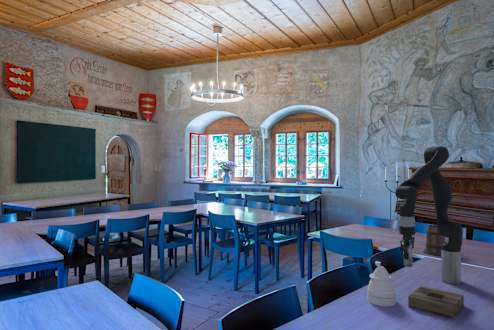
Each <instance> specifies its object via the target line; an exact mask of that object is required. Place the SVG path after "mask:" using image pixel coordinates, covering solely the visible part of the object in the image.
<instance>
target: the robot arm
mask: <svg viewBox="0 0 494 330" xmlns="http://www.w3.org/2000/svg"><path fill="white" fill-rule="evenodd" d="M449 158H450V152H449V150H448V148H447V147H445V146H431V147H426V148H425V149H424V152H423V159H424V164H423V165H422V166H420V167H419V168H417V169H415V171H414V172H412V174H411V175H410V176H409V177H408V178H407V179H406V180H404V181H403V182H402V183H400V184H398V186H396V189H395V192H394V193H395V197H396V198H397V199H399V200H405V203H403V204H400V205H399V209H398V212H399V213H398V215H399V217H398V232H399V234H400V235H402V238H401V240H400V241H399V243H400V250H401V252H403V260H404V259H406V260H408V259H409V248H410V244H412V251H413V249H414V248H415V247H414V246H415V239H416V238H415V235H416V219H415V207H416V203H417V199H418V196H419V195H418V194H419V193H418V190H419V189H420V188H421V187H422V186H423V184H424V183H425V182H426V181H427V180H428V178H429V181H430V182H429V183H430V187H431V192H432V193H431V194H432V198H433V201H434V202H433V204H434V210H435V218H436V225H437V229H438V232H439V234H440V235H441V236H444V237H445V238H448V239H447V241H448V242H447V243H444V244H442V245H441V255H442V256H441V281H442V282H445V283H448V284H453V285H459V284H462V254H461V253H462V252H461V251H462V246H463V234H464V233H463V227H462V224H461V223H460V222H458V221H452V220H450V219H449V215H448V210H449V207H450V205H451V204H452V203H451V202H452V201H453V194H452V189H451V188H452V187H451V185H450V183H449V182H448V180H447V179H446V178H445V177H444V175H442V173H441V171H440V169H439V168H440V167H442V166H443V165H444V164H445V163H446V162H447V161H448V160H449ZM407 245H408V246H407Z"/></svg>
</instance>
